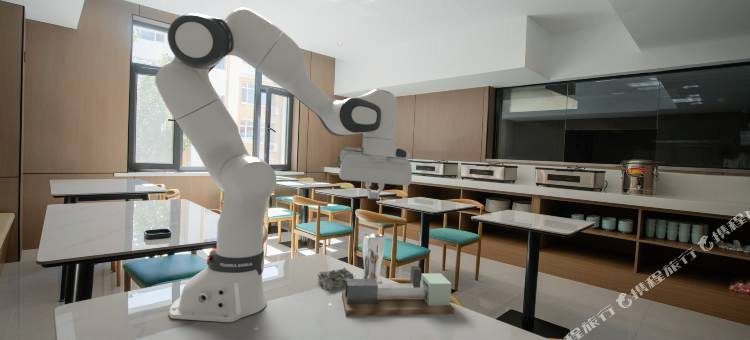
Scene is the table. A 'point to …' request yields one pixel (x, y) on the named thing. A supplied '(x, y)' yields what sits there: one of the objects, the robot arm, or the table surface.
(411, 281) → the light grey bar piece
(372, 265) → the beer glass
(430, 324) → the table surface
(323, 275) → the egg carton
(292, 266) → the table surface
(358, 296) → the sleeve
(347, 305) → the base board
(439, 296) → the socket
